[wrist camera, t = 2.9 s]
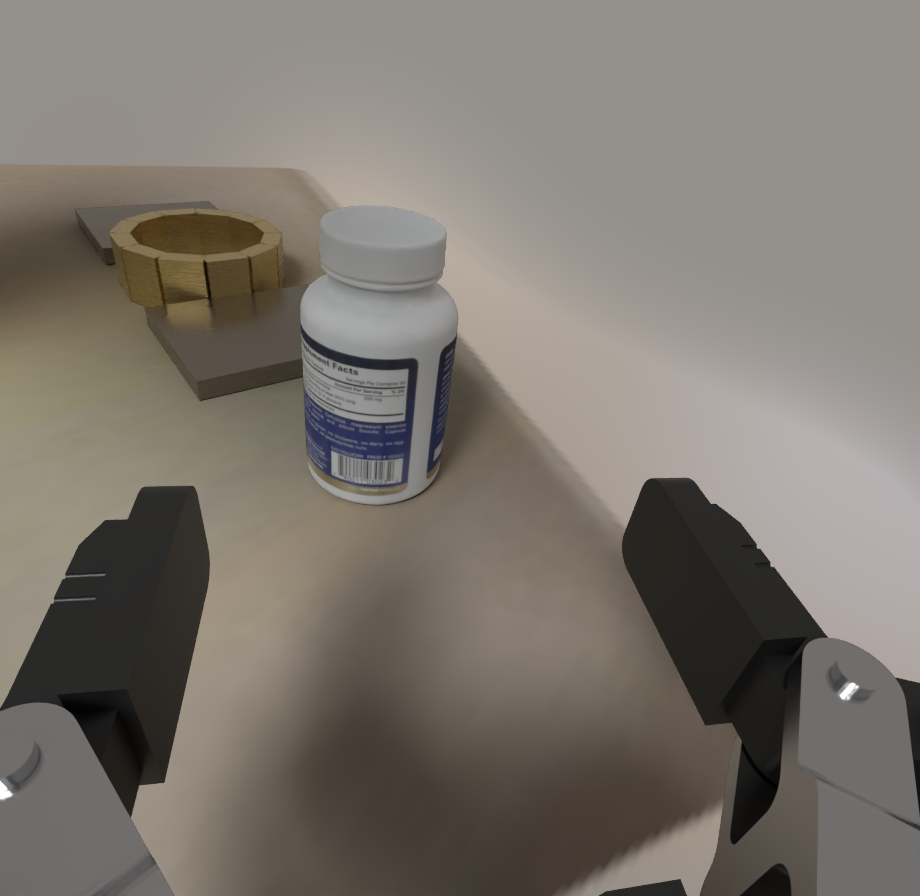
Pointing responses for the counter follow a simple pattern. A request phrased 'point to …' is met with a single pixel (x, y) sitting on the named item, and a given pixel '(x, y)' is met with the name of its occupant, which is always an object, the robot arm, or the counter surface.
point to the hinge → (206, 290)
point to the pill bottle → (377, 354)
